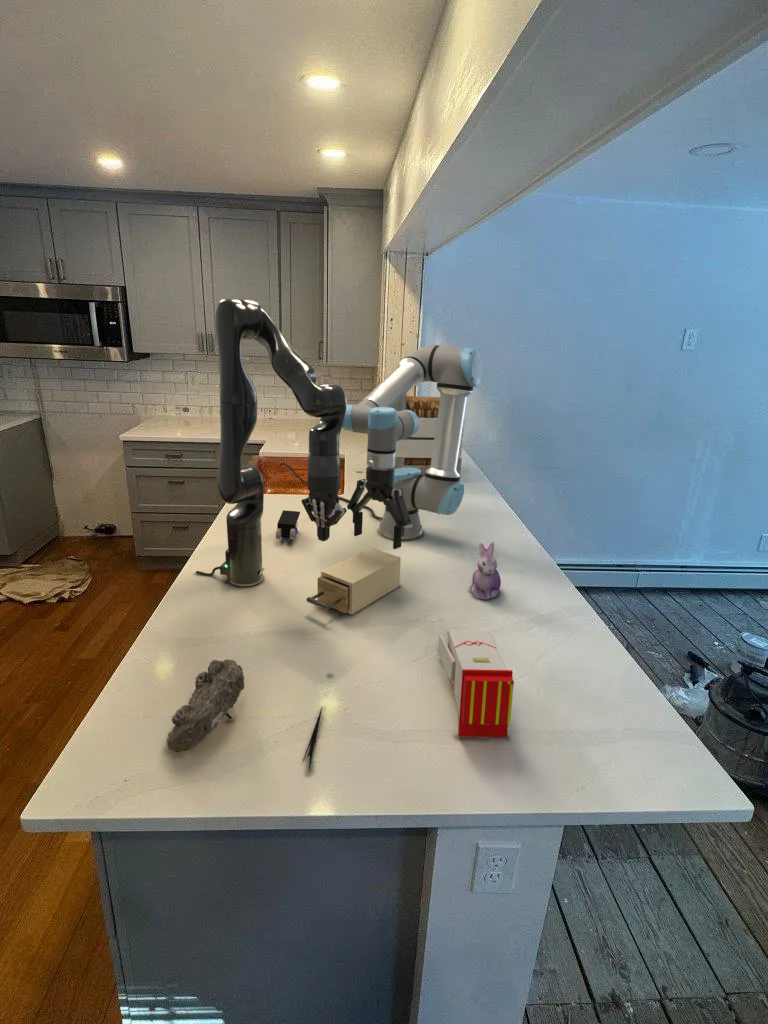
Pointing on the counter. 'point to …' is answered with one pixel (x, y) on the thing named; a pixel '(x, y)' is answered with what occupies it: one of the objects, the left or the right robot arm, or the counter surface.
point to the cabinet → (366, 576)
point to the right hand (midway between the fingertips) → (377, 541)
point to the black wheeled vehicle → (287, 525)
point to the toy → (478, 682)
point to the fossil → (206, 705)
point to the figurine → (486, 574)
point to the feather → (313, 740)
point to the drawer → (331, 595)
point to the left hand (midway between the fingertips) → (323, 539)
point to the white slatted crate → (420, 433)
